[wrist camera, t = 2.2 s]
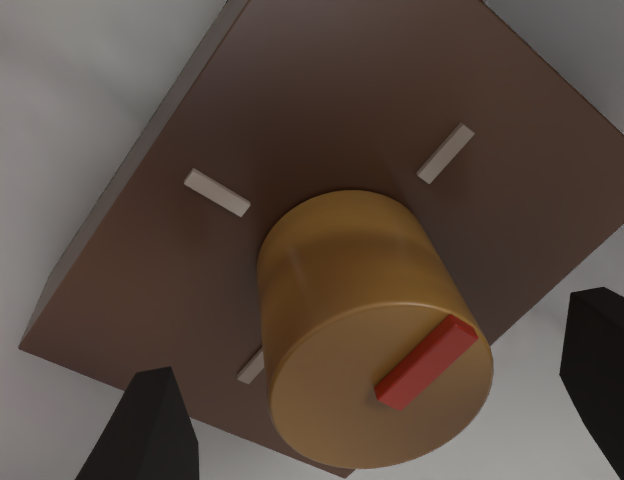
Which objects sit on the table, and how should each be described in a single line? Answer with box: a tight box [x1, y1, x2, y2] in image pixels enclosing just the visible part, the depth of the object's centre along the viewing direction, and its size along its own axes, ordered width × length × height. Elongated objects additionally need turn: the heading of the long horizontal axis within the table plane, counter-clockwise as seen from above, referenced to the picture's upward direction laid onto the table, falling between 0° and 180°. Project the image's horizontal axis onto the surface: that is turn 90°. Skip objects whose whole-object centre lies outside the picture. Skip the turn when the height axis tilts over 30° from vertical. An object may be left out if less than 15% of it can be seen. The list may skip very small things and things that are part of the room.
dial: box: [256, 190, 494, 469], centre depth 12 cm, size 4×4×4 cm
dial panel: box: [18, 0, 624, 478], centre depth 15 cm, size 12×10×3 cm
